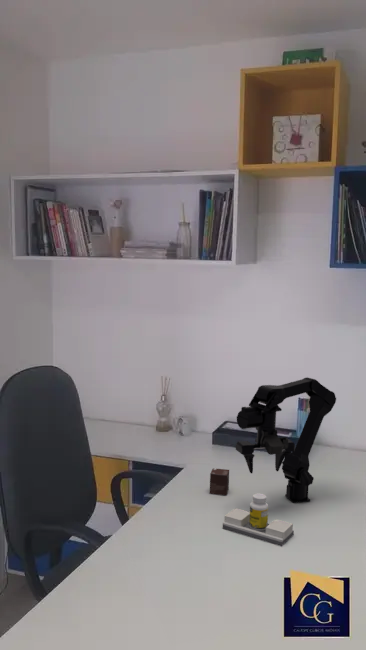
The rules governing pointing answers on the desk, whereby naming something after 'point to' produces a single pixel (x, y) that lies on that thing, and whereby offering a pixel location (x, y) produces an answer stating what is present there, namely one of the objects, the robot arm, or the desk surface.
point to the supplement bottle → (258, 513)
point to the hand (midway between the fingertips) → (264, 472)
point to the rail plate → (273, 534)
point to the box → (219, 481)
